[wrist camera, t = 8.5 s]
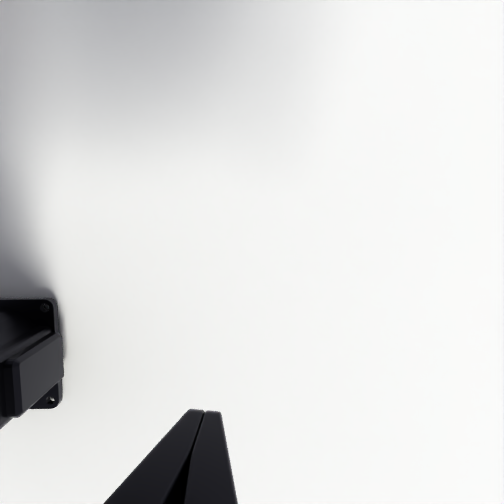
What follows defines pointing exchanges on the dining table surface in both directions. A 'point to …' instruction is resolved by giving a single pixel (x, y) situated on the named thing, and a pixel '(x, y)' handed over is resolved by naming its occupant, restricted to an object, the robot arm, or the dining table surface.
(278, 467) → the dining table surface
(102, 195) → the dining table surface
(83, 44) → the dining table surface
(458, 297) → the dining table surface
